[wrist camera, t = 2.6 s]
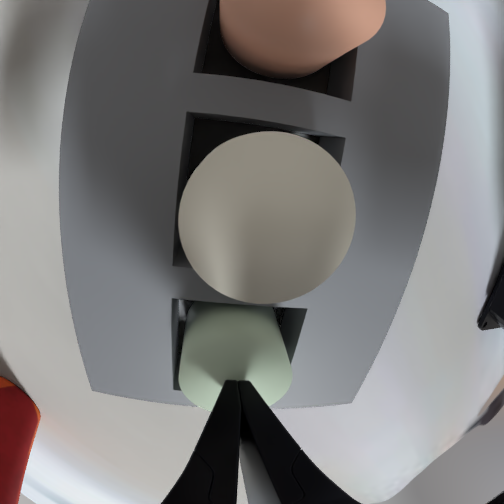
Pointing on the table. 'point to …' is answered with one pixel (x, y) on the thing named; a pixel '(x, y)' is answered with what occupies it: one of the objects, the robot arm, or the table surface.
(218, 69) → the table surface
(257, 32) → the pink button
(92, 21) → the grey flat board
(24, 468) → the paper cup
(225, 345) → the sage button
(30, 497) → the table surface
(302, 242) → the cream button
